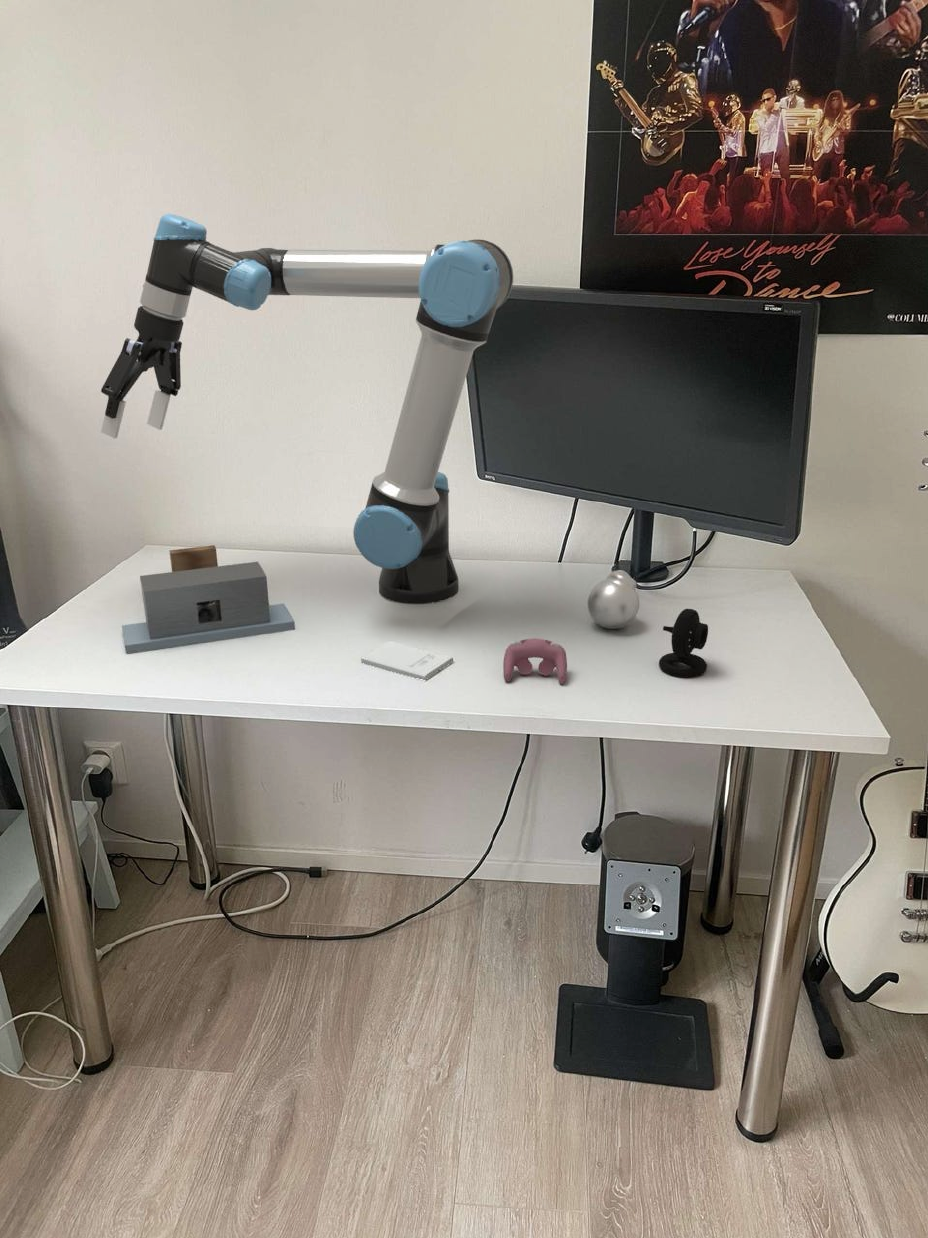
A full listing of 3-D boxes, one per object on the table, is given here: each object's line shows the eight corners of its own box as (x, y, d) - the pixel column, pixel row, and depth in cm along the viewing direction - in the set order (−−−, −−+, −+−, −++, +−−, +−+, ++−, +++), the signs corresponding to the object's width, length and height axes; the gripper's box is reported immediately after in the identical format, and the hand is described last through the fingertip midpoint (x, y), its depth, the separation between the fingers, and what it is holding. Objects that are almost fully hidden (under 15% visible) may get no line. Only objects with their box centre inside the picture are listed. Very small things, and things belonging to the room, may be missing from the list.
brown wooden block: (219, 596, 188) (214, 545, 185) (229, 618, 179) (223, 564, 175) (175, 601, 186) (169, 550, 182) (182, 624, 176) (176, 570, 172)
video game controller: (566, 684, 158) (567, 640, 159) (566, 684, 154) (568, 638, 154) (503, 682, 159) (505, 638, 160) (501, 681, 155) (503, 636, 155)
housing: (284, 610, 183) (280, 558, 179) (295, 629, 175) (291, 575, 171) (123, 633, 174) (115, 578, 170) (126, 653, 166) (118, 597, 162)
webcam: (696, 683, 155) (702, 623, 151) (651, 672, 159) (655, 613, 155) (713, 664, 161) (719, 606, 157) (669, 654, 165) (674, 597, 161)
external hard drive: (391, 648, 169) (453, 665, 163) (361, 666, 163) (425, 684, 156) (391, 639, 168) (453, 656, 162) (360, 657, 162) (424, 674, 156)
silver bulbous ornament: (650, 631, 174) (654, 577, 170) (602, 640, 170) (605, 585, 166) (623, 613, 181) (626, 560, 178) (577, 621, 178) (579, 567, 174)
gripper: (182, 304, 180) (154, 415, 188) (96, 302, 157) (68, 429, 165) (218, 320, 179) (188, 431, 187) (137, 321, 156) (107, 447, 164)
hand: (132, 430), depth 176 cm, fingers open, 13 cm apart
